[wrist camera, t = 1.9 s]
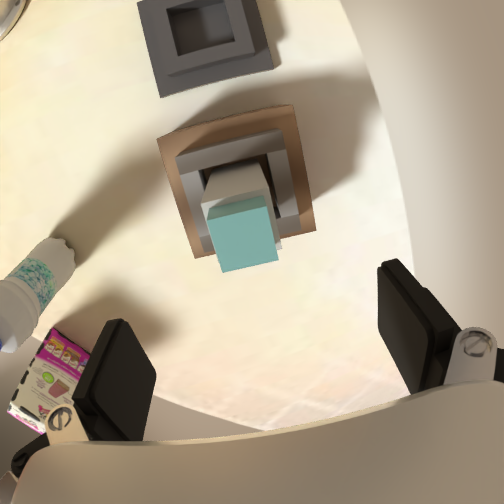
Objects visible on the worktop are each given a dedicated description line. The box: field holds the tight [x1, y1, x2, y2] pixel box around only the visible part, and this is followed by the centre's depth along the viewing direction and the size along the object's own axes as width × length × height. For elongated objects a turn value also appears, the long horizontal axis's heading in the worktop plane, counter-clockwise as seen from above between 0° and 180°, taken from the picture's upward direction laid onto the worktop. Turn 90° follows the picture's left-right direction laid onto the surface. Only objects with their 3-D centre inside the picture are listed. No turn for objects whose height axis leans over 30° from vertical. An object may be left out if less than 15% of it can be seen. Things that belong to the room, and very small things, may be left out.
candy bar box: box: [7, 328, 91, 434], centre depth 38 cm, size 11×5×16 cm, turn 47°
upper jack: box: [157, 105, 316, 259], centre depth 30 cm, size 12×12×10 cm
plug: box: [201, 158, 282, 273], centre depth 22 cm, size 4×4×12 cm
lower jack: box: [137, 0, 274, 98], centre depth 25 cm, size 12×12×4 cm
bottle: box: [0, 237, 76, 353], centre depth 28 cm, size 7×7×20 cm
